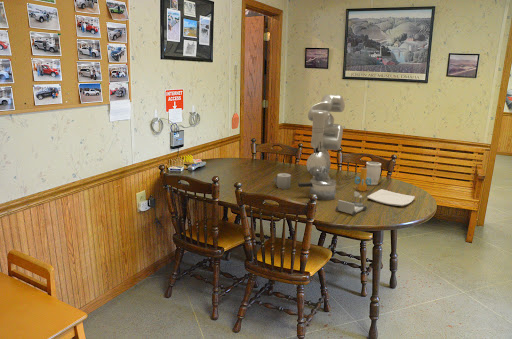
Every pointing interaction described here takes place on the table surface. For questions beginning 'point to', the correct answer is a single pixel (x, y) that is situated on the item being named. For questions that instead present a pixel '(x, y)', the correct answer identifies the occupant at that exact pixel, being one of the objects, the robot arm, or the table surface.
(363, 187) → the orange blue upright piece
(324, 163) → the lid
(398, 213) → the table surface
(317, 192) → the pot
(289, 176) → the toilet tissue
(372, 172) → the jar
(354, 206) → the toy car
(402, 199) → the plate
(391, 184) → the table surface
